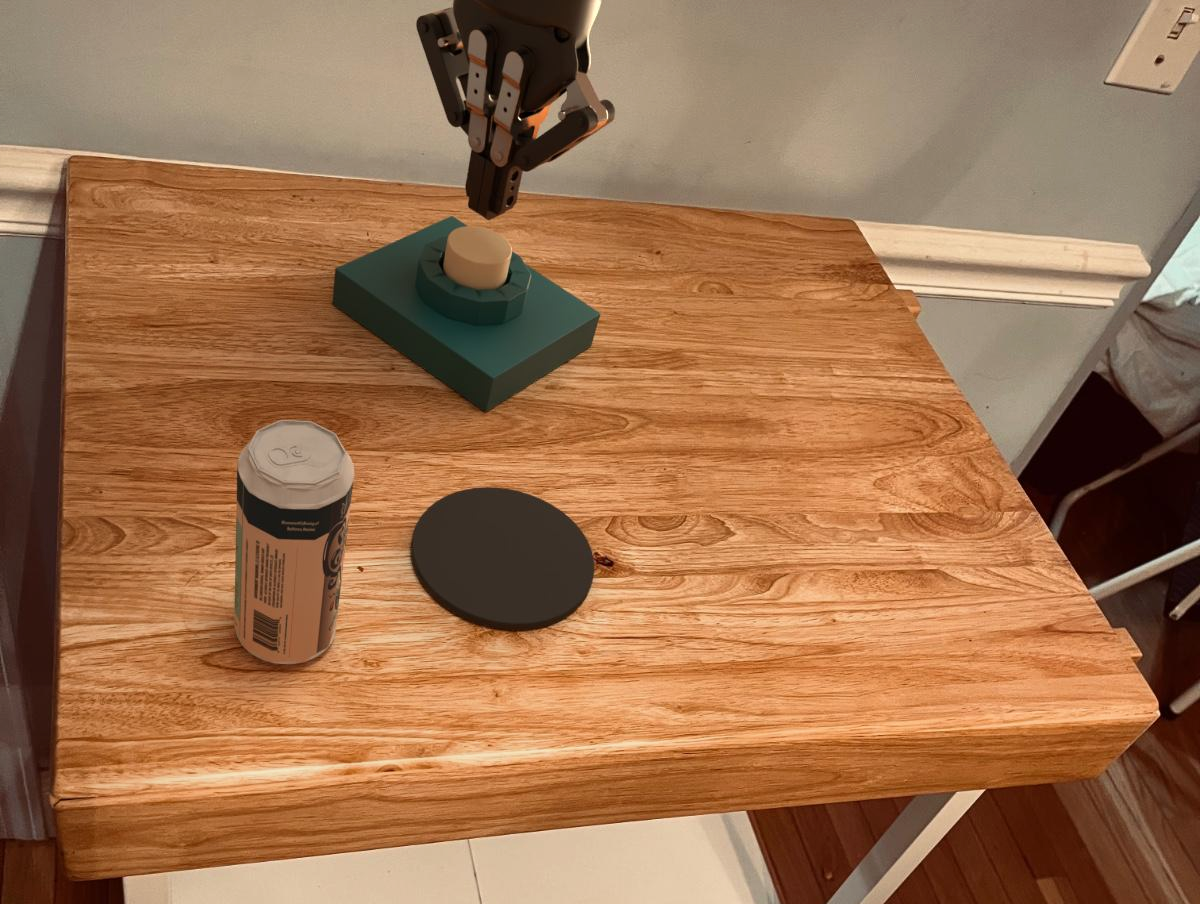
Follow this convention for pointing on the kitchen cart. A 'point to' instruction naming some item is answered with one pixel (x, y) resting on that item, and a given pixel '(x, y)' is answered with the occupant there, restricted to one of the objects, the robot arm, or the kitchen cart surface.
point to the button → (477, 258)
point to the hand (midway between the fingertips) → (488, 210)
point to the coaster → (502, 558)
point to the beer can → (290, 540)
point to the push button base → (464, 317)
